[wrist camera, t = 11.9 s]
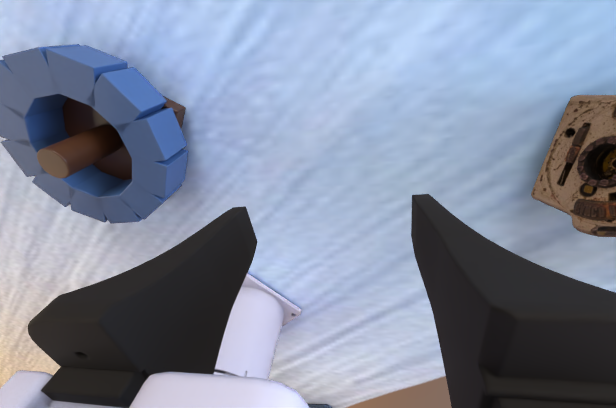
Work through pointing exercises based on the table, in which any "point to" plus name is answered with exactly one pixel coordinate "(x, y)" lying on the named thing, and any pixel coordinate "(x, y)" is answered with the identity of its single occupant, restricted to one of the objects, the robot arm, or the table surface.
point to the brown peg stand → (91, 143)
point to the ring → (112, 107)
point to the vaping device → (319, 406)
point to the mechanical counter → (583, 165)
